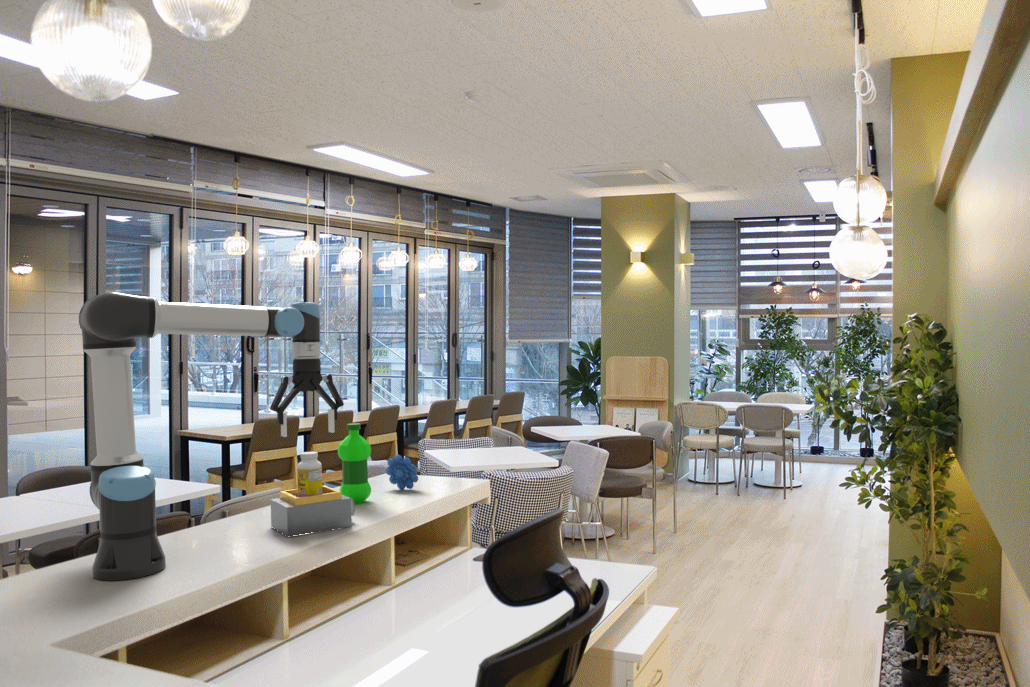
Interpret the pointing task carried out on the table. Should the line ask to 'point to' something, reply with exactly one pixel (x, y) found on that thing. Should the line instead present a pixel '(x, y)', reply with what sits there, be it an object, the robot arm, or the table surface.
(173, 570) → the table surface
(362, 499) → the plastic bottle
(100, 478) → the robot arm
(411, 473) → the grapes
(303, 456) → the supplement bottle
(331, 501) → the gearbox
